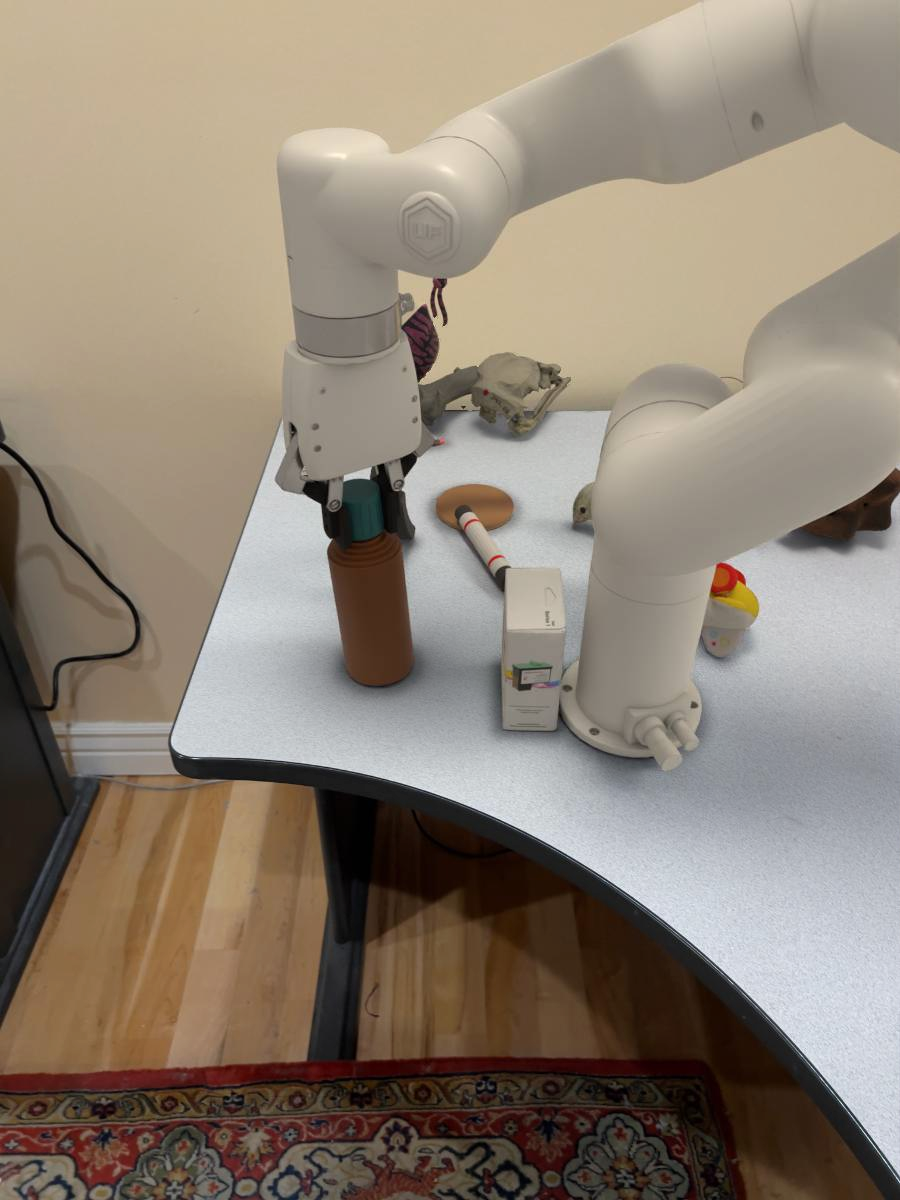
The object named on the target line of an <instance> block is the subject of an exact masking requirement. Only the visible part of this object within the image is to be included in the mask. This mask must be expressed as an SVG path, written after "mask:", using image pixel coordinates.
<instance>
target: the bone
mask: <svg viewBox="0 0 900 1200" xmlns="http://www.w3.org/2000/svg"><path fill="white" fill-rule="evenodd" d="M477 368H478V367H477V366H476V365H471V366H468V367H464V368H460V367H459V366H456V367H455V368H454V369H453V371H452V372H451V373H449V374H446V375H444V376H443V377H440V378H439V379H437V380H435V381H433V382H430V383H425V384H420V383H418V389H419V398H420V408H421V420H422V422H423V423H424V424H425V426H426V427H433V426H434V421H435V420H436V419H441V418H442V417H443V416H444V414H445V413H446V412H445V411H446V408H447V405H448V404H450V403H452V402H454V401H457V400H458V399H460V398H462V397H466V396H468V395H472V387H473V386H474V385H475V384H476V383H477V373H476V372H477Z"/></svg>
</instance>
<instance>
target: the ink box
mask: <svg viewBox="0 0 900 1200" xmlns="http://www.w3.org/2000/svg"><path fill="white" fill-rule="evenodd" d="M564 598H565V597H564V591H563V579H562V570H561V568H560V567H511V568H507V569H506V575H505V589H504V595H503V614H502V632H501V634H502V635H501V636H502V637H501V659H500V660H501V662H500V664H501V665H500V667H501V669H500V670H501V671H500V672H501V716H502V717H501V718H502V719H501V720H502V729H503V730H505V731H531V732H532V731H535V732H539V731H540V732H554V731H555V730H557V727H558V719H559V697H560V686H561V678H562V676H563V666H564V655H565V645H566V635H567V625H566V611H565V601H564V600H565V599H564Z"/></svg>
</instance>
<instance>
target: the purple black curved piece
mask: <svg viewBox="0 0 900 1200" xmlns="http://www.w3.org/2000/svg"><path fill="white" fill-rule="evenodd" d="M432 285H433V286H432V289H431V293H430V297H429V304H430V310H431V313H432V317H431V314H430V310H429V307H428V305H427V303H426V302H424V301H417V302H414V310H413V311H410V312H406V314H405V315H402V330H403V331H404V332H405V333H406V335H407V338H408V341H409V345H410V349H411V353H412V357H413V361H414V365H415V371H416V376H417V382H418V384H420V383H419V382H420V380H421V379H422V378H424V377H425V376H426V373H427V372H429V371H430V370H431V368H432V366H433V364H434V363H435V361H436V362H437V360H438V359H437V356H438V353H439V354H440V341H439V338H438V336H439V334H438V332H437V330H436V326H435V327H434V325H433V317H434V318H435V317H436V316H437V317H438V310H437V306H436V300H435V299H436V298H437V304H438V307H439V309H440V312H441V316H442V327H443V326H445V325H446V324H447V325H448V322H449V318H448V312H447V309H446V306H445V303H444V300H443V289H444V288H445V287H446V286H447V285H448V278H447V279H436V278H432ZM435 364H436V363H435ZM424 379H425V378H424Z"/></svg>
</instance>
